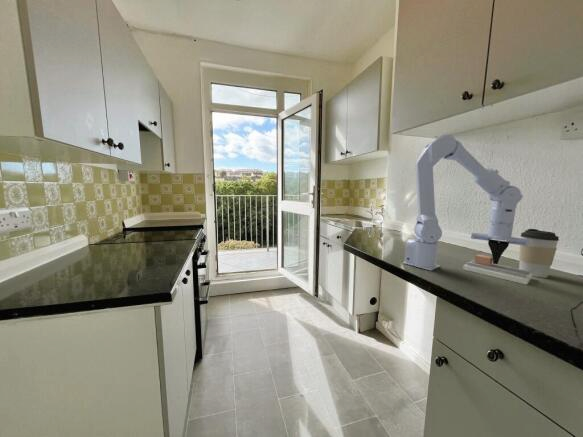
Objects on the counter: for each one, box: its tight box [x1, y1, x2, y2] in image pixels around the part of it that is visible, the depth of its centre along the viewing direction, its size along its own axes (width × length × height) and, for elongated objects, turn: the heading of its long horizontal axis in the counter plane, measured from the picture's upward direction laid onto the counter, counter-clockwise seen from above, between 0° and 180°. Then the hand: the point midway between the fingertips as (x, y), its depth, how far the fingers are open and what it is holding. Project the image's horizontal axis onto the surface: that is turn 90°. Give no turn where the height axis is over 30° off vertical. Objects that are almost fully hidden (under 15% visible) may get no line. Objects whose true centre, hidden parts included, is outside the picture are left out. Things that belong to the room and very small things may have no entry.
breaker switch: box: [474, 254, 493, 267], centre depth 82 cm, size 4×4×4 cm
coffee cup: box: [518, 228, 560, 279], centre depth 80 cm, size 9×9×15 cm
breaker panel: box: [462, 259, 533, 286], centre depth 79 cm, size 16×9×2 cm, turn 39°
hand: (495, 263), depth 79 cm, fingers closed
